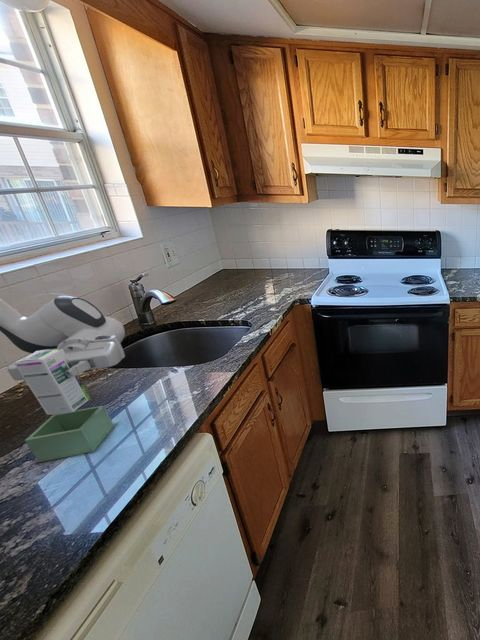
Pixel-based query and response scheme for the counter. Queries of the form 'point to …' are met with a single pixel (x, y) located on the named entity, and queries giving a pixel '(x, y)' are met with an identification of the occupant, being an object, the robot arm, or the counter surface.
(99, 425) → the green open square box
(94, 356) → the robot arm
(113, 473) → the counter surface
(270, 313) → the counter surface
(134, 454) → the counter surface
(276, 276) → the counter surface
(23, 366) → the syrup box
